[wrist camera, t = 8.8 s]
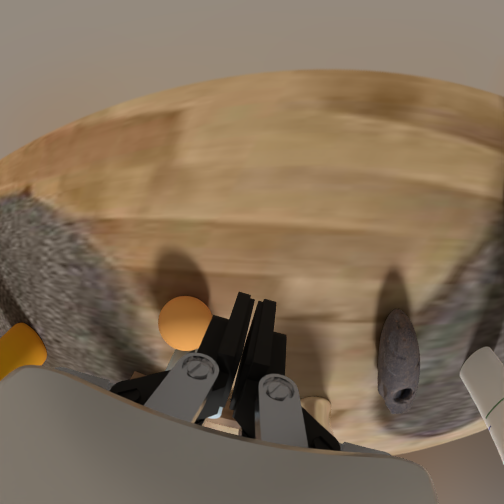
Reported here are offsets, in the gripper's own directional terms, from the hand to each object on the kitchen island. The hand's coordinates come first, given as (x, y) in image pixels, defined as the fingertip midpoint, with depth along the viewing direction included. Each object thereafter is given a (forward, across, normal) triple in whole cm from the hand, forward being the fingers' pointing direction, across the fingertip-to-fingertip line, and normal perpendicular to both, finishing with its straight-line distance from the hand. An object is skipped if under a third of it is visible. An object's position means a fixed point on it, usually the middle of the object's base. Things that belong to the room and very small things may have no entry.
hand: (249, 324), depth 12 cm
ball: (+13, +6, +12) cm, 19 cm away
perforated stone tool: (+18, -19, +11) cm, 29 cm away
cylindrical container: (+18, -39, +12) cm, 45 cm away
